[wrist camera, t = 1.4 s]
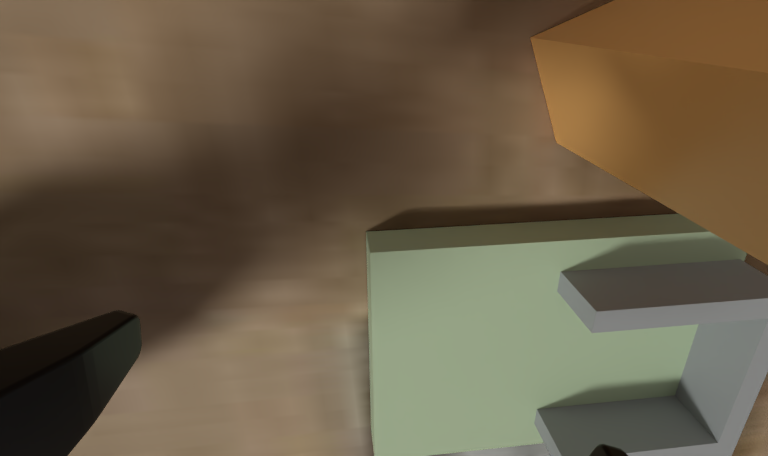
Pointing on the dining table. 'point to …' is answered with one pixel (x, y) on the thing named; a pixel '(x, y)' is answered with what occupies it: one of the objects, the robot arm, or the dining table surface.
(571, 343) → the pale green pegged block
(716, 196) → the tan tall rectangular block
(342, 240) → the dining table surface
